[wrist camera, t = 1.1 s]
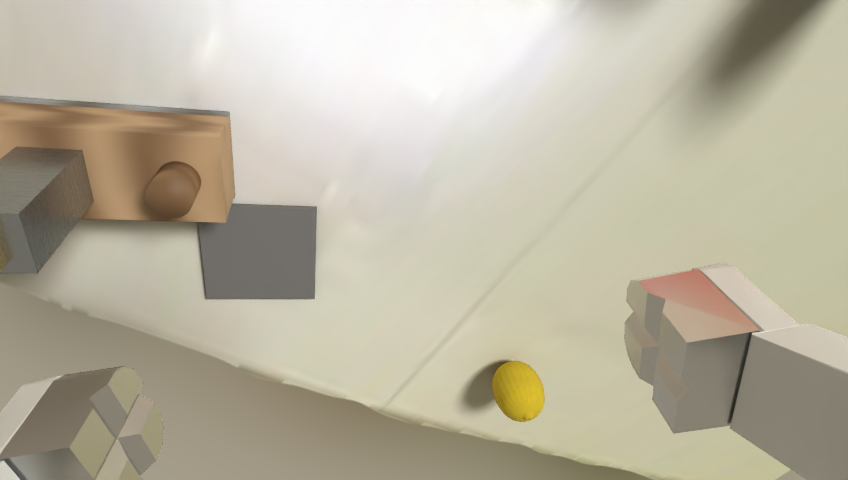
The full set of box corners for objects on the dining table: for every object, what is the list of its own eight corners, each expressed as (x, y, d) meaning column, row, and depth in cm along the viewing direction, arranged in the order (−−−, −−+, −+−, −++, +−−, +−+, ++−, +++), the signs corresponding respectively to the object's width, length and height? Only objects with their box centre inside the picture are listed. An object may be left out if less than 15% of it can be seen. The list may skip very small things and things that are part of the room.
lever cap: (31, 199, 37) (-51, 281, 29) (16, 146, 35) (-78, 218, 27) (93, 201, 38) (30, 281, 30) (82, 149, 36) (11, 221, 28)
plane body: (-64, 184, 40) (-153, 246, 33) (-102, 88, 36) (-212, 135, 29) (235, 195, 45) (217, 253, 37) (229, 111, 41) (208, 157, 33)
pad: (207, 294, 50) (206, 298, 49) (197, 202, 44) (196, 205, 44) (314, 294, 52) (314, 298, 51) (316, 206, 47) (316, 210, 46)
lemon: (504, 340, 59) (527, 395, 53) (538, 356, 62) (564, 410, 55) (475, 371, 61) (493, 427, 55) (509, 385, 64) (531, 441, 57)
